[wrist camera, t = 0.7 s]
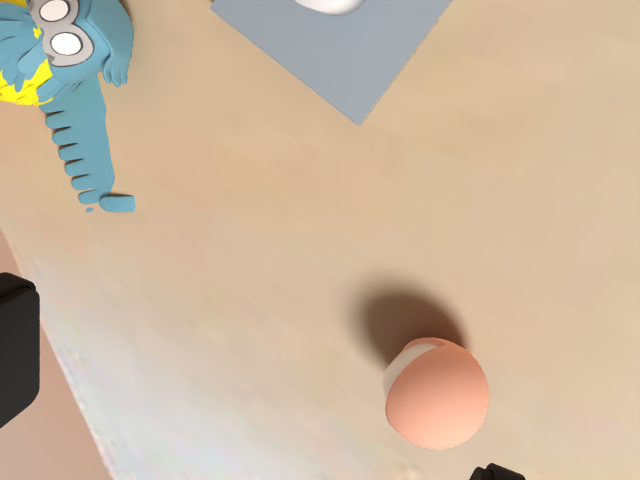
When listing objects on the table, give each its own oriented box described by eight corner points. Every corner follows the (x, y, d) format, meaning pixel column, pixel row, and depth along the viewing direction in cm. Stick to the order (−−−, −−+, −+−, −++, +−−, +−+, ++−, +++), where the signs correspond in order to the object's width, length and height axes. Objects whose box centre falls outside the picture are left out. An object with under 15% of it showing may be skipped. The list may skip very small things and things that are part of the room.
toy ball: (399, 307, 38) (385, 363, 31) (498, 332, 37) (507, 398, 30) (381, 386, 41) (364, 454, 34) (471, 413, 40) (474, 489, 33)
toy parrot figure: (-206, -161, 29) (-28, -271, 25) (-67, -113, 37) (87, -190, 33) (-17, 257, 37) (144, 231, 33) (64, 223, 45) (202, 199, 41)
